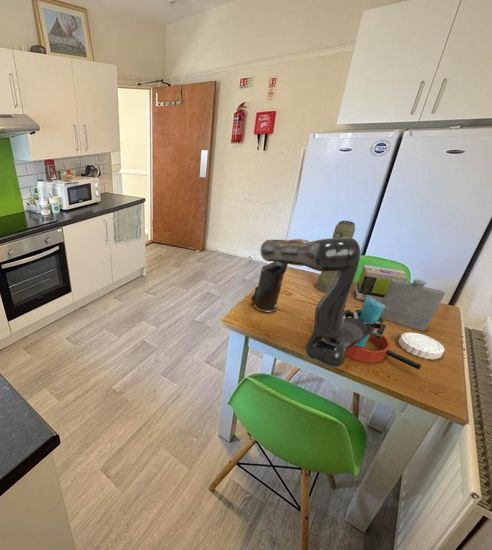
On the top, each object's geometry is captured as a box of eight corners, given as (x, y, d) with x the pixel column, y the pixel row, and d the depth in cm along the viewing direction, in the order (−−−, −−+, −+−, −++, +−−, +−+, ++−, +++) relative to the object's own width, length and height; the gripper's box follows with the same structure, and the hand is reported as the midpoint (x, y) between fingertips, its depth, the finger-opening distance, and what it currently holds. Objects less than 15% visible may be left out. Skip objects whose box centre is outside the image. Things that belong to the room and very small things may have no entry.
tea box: (392, 297, 142) (404, 269, 135) (395, 307, 134) (409, 279, 127) (354, 289, 149) (364, 263, 142) (355, 299, 141) (366, 271, 134)
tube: (370, 348, 110) (391, 305, 101) (359, 350, 109) (380, 307, 100) (353, 335, 116) (371, 294, 107) (342, 337, 115) (360, 295, 106)
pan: (320, 342, 115) (324, 332, 113) (341, 326, 123) (345, 316, 121) (406, 386, 95) (412, 375, 93) (424, 364, 104) (430, 353, 101)
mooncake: (398, 334, 118) (401, 327, 116) (439, 346, 111) (443, 339, 110) (397, 350, 110) (401, 343, 108) (442, 365, 103) (447, 357, 102)
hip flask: (425, 327, 121) (448, 285, 112) (424, 332, 119) (448, 289, 109) (377, 312, 131) (394, 273, 122) (375, 316, 129) (393, 276, 119)
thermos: (340, 287, 151) (363, 221, 135) (330, 295, 145) (353, 227, 129) (321, 281, 157) (341, 217, 141) (311, 288, 151) (331, 222, 135)
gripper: (378, 335, 93) (399, 316, 101) (330, 313, 104) (352, 298, 112) (370, 353, 96) (390, 334, 105) (323, 330, 107) (345, 314, 115)
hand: (370, 315), depth 108 cm, fingers closed on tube, 5 cm apart
